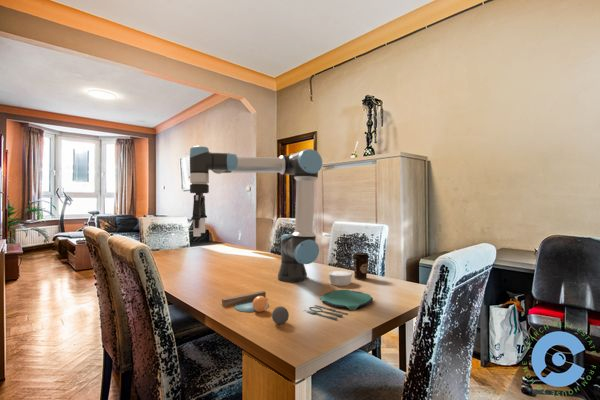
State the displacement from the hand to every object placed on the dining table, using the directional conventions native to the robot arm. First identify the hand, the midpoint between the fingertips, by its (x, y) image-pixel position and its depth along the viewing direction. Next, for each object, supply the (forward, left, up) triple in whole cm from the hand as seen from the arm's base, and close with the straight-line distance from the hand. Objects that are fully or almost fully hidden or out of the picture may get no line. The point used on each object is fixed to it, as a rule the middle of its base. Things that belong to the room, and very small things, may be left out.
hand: (199, 234), depth 129 cm
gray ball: (-27, +36, -24) cm, 51 cm away
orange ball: (-22, +23, -24) cm, 40 cm away
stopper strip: (-18, +11, -26) cm, 33 cm away
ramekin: (-65, -4, -27) cm, 70 cm away
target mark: (-20, +17, -26) cm, 37 cm away
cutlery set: (-53, +24, -27) cm, 64 cm away
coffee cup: (-79, -10, -26) cm, 84 cm away
